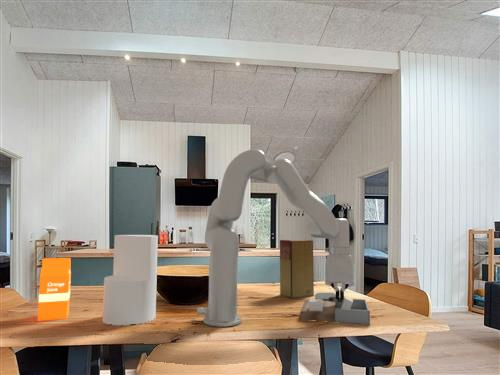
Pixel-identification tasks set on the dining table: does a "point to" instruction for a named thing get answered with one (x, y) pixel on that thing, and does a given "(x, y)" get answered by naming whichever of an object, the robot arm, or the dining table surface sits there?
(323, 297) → the cleaver
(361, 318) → the tray
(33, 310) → the dining table surface
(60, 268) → the orange juice
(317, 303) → the white rectangular block
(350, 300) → the tile
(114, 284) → the white stepped block
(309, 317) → the board
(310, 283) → the food packaging
